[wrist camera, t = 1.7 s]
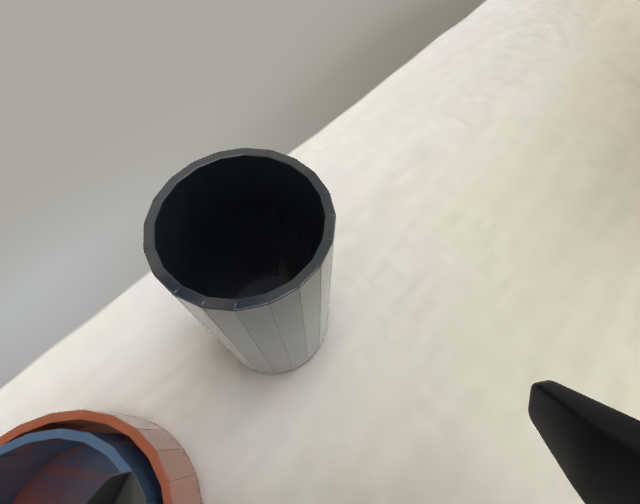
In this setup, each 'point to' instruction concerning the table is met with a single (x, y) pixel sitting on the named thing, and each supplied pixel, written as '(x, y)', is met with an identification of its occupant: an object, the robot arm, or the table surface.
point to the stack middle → (41, 447)
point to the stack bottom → (148, 436)
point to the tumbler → (248, 253)
